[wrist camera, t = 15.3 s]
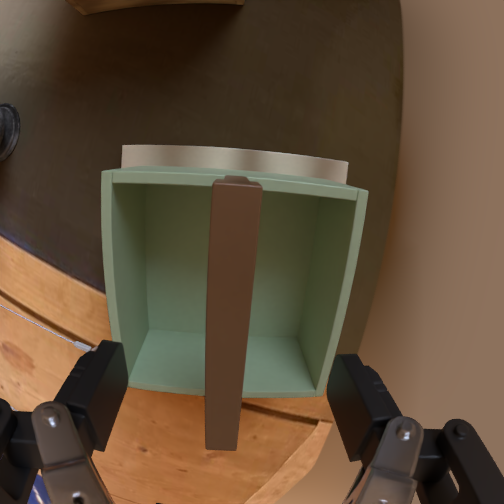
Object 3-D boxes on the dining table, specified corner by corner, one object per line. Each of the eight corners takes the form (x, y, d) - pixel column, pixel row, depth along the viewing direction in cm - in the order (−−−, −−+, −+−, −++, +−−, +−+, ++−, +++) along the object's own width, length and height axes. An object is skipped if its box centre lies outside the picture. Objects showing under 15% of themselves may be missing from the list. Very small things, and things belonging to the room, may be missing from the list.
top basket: (327, 179, 21) (416, 205, 10) (301, 339, 25) (340, 445, 14) (141, 165, 20) (55, 179, 9) (144, 330, 23) (102, 434, 13)
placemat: (346, 162, 21) (348, 162, 20) (313, 350, 26) (315, 354, 25) (124, 145, 20) (122, 145, 19) (130, 340, 24) (129, 343, 24)
